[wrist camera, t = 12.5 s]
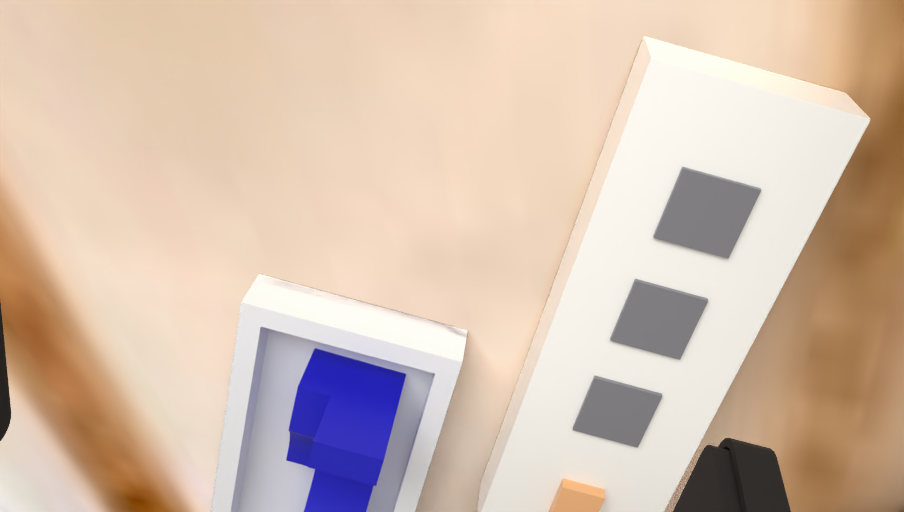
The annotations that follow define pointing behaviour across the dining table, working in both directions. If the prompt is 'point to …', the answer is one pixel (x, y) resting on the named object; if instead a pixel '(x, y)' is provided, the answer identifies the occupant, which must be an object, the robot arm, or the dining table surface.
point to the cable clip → (343, 428)
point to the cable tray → (280, 371)
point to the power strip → (666, 279)
